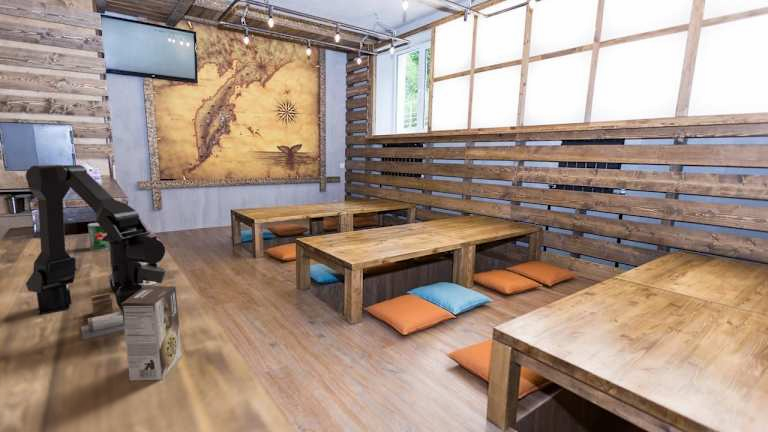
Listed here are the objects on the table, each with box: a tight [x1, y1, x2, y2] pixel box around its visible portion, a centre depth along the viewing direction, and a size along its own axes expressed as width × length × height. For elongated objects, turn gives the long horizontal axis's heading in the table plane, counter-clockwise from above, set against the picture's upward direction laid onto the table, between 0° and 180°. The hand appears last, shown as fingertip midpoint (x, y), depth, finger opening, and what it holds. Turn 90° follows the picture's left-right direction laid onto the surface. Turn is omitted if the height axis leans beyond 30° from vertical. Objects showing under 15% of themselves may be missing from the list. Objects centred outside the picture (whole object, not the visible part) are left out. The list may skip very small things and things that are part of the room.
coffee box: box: [121, 285, 183, 382], centre depth 78 cm, size 9×6×16 cm
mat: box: [80, 324, 125, 341], centre depth 99 cm, size 20×8×1 cm, turn 130°
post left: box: [91, 292, 114, 317], centre depth 103 cm, size 4×5×5 cm
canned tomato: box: [87, 222, 109, 251], centre depth 170 cm, size 8×8×11 cm
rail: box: [87, 310, 124, 333], centre depth 99 cm, size 17×3×3 cm, turn 130°
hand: (130, 317), depth 99 cm, fingers open, 9 cm apart
